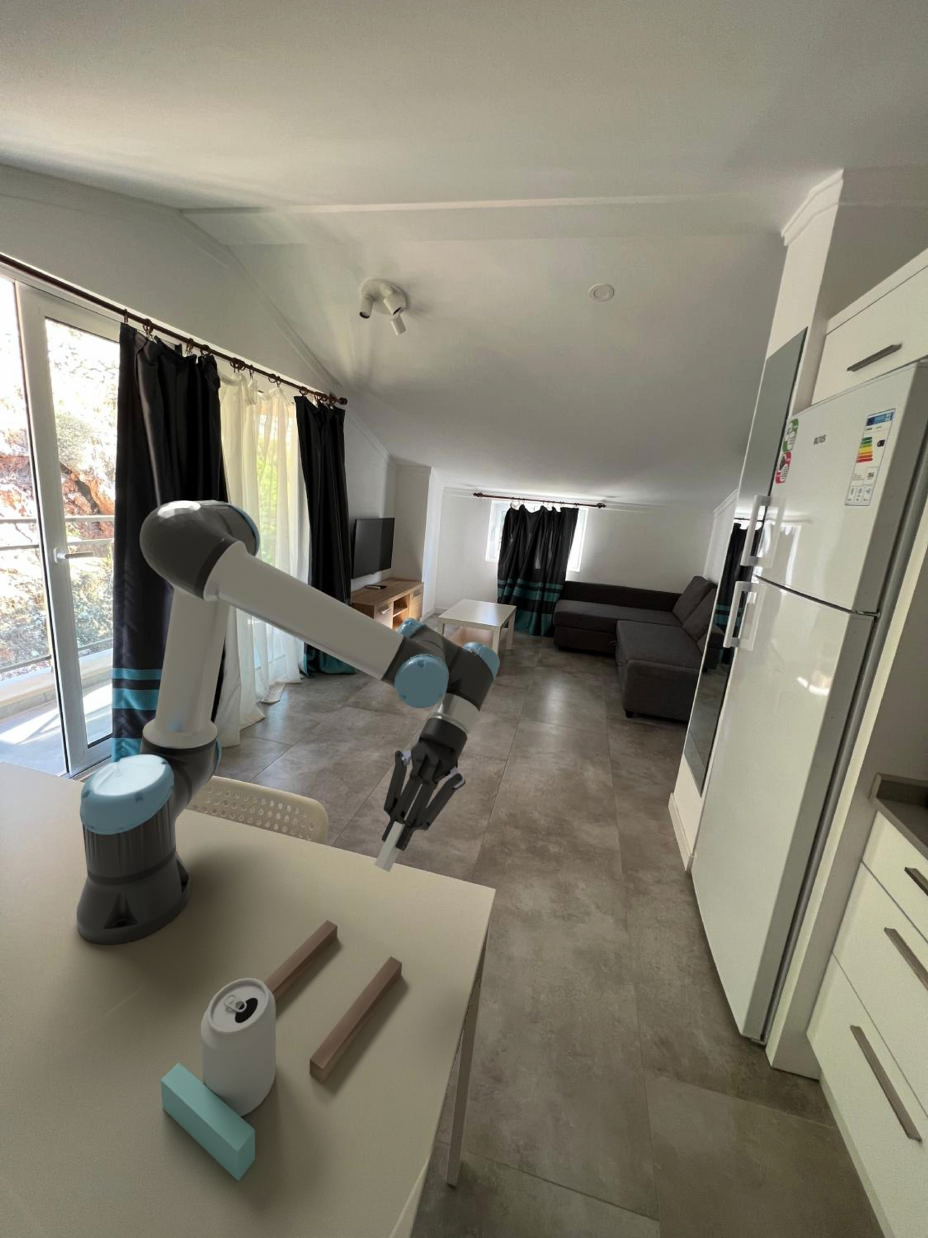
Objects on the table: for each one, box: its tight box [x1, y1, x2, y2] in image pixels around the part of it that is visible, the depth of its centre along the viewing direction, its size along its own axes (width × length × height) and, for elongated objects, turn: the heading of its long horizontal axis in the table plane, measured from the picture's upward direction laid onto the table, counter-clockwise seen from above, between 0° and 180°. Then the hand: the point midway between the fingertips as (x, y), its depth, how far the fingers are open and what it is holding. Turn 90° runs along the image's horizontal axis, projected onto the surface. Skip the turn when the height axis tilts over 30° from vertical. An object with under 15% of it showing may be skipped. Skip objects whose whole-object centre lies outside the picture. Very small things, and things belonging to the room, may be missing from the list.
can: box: [200, 977, 277, 1118], centre depth 56 cm, size 8×8×12 cm
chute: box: [263, 919, 403, 1084], centre depth 67 cm, size 14×16×2 cm
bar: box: [160, 1062, 256, 1182], centre depth 52 cm, size 12×2×4 cm, turn 63°
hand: (381, 868), depth 73 cm, fingers closed
